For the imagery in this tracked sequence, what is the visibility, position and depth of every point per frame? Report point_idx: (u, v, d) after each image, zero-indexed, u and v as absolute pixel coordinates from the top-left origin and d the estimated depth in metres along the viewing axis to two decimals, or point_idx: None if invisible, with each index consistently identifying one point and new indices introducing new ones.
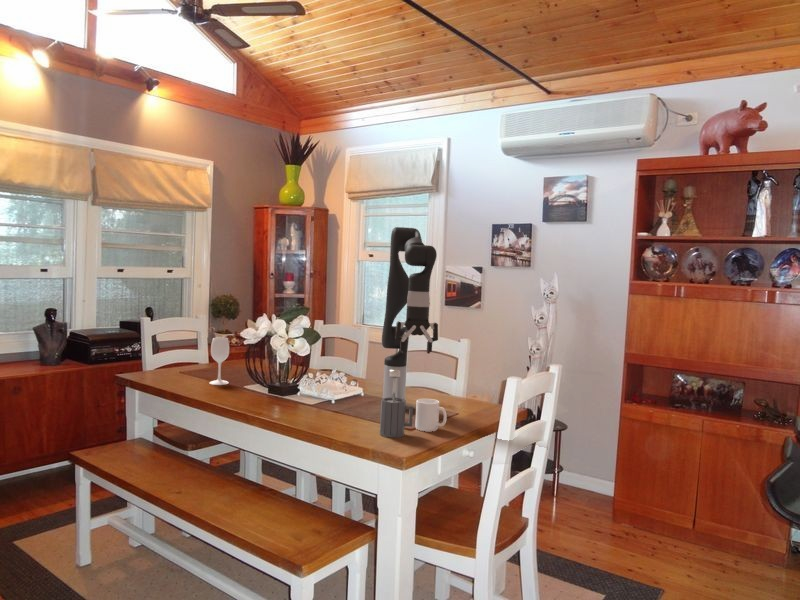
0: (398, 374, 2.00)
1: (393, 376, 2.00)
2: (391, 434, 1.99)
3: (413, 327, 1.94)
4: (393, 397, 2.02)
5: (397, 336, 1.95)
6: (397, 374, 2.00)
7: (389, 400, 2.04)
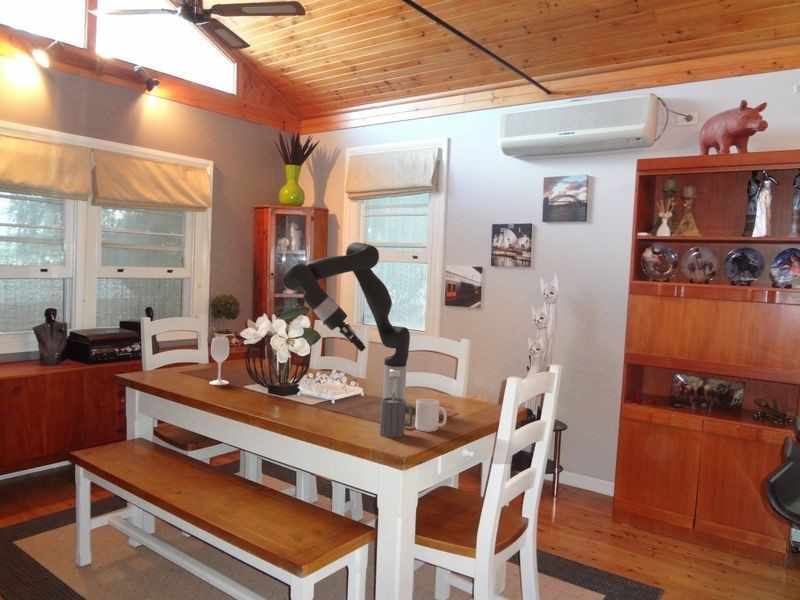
0: (398, 374, 2.00)
1: (393, 376, 2.00)
2: (391, 434, 1.99)
3: None
4: (393, 397, 2.02)
5: None
6: (397, 374, 2.00)
7: (389, 400, 2.04)
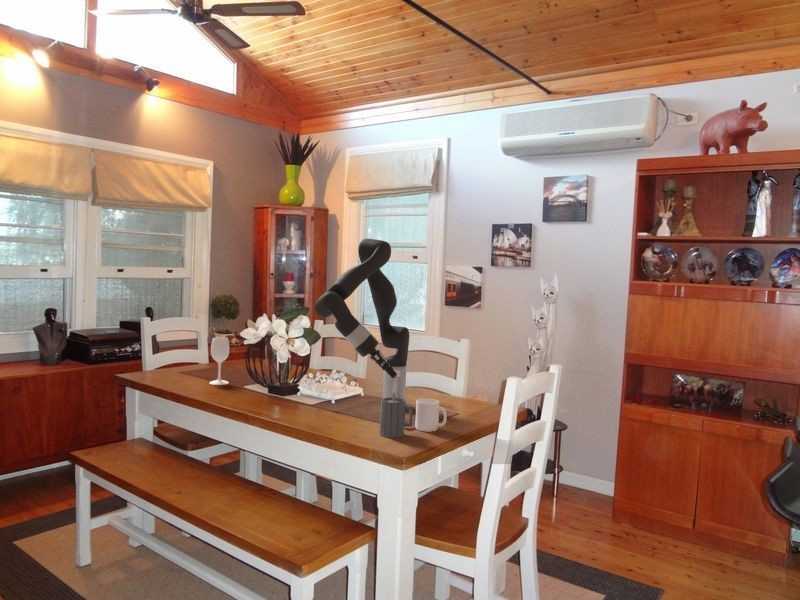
0: (398, 374, 2.00)
1: None
2: (391, 434, 1.99)
3: (371, 358, 2.02)
4: (393, 397, 2.02)
5: None
6: (397, 374, 2.00)
7: (389, 400, 2.04)
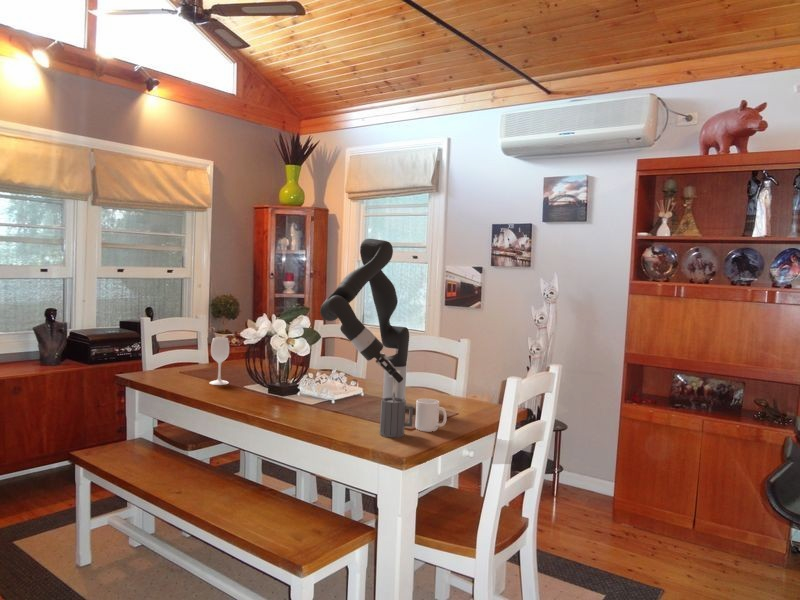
0: None
1: None
2: (391, 434, 1.99)
3: (376, 362, 2.02)
4: (393, 397, 2.02)
5: None
6: None
7: (389, 400, 2.04)
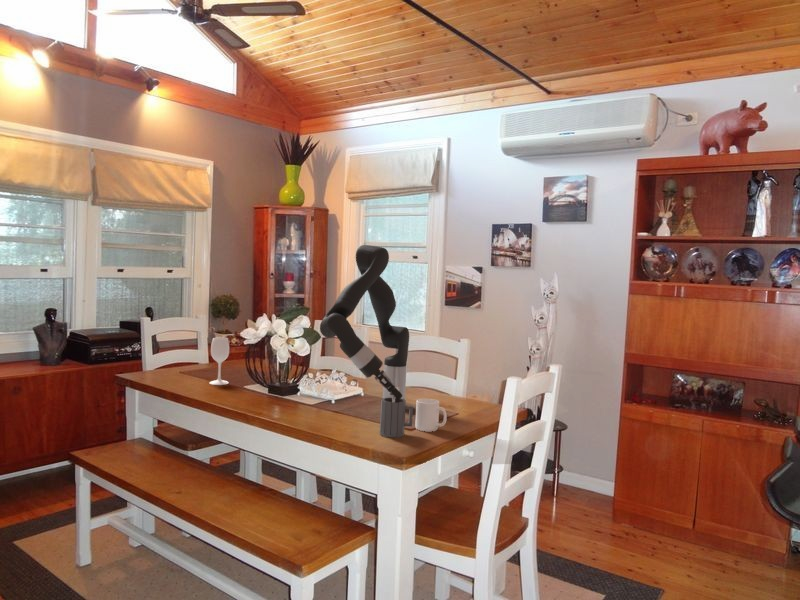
0: None
1: None
2: (391, 434, 1.99)
3: (376, 379, 2.02)
4: None
5: None
6: None
7: None
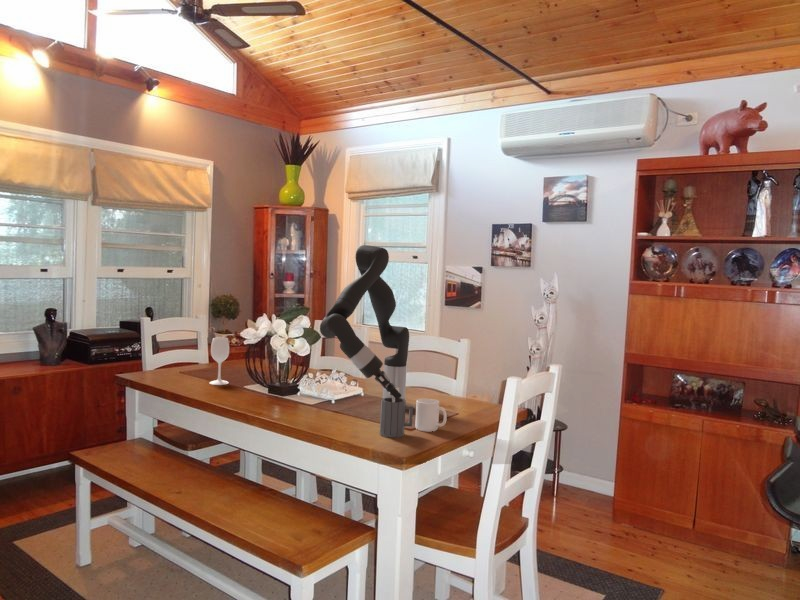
0: None
1: None
2: (391, 434, 1.99)
3: (375, 379, 2.02)
4: None
5: None
6: None
7: None
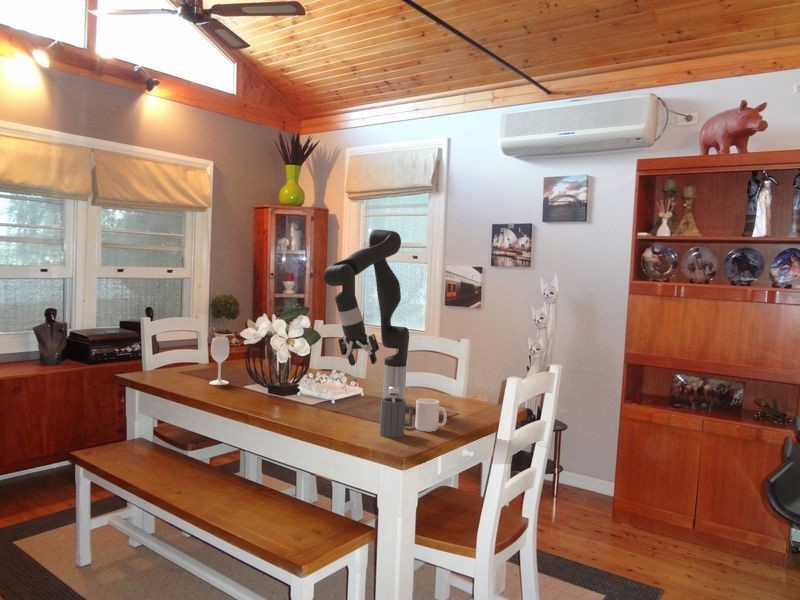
0: (397, 391, 2.01)
1: (392, 393, 2.00)
2: (391, 434, 1.99)
3: (350, 343, 2.03)
4: None
5: (342, 352, 2.07)
6: (396, 391, 2.00)
7: None
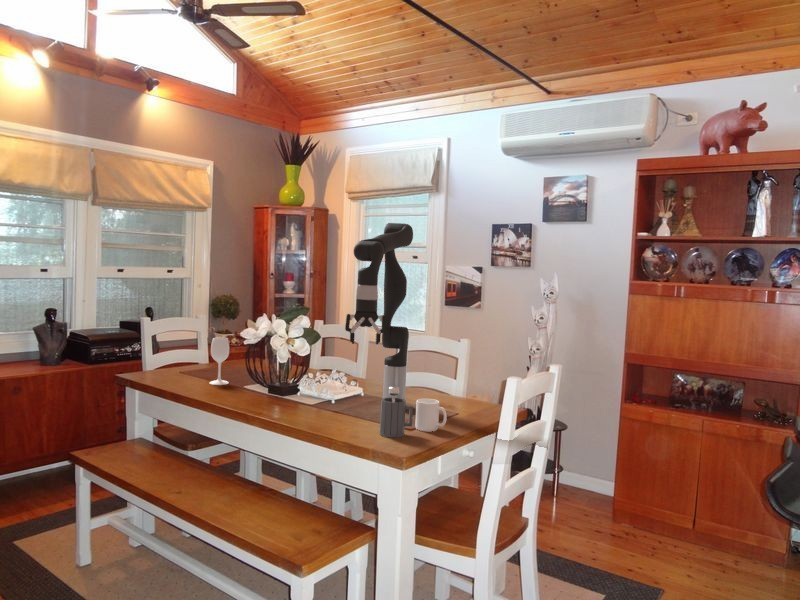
0: (397, 391, 2.01)
1: (392, 393, 2.00)
2: (391, 434, 1.99)
3: (362, 319, 2.05)
4: None
5: (346, 328, 2.05)
6: (396, 391, 2.00)
7: None
